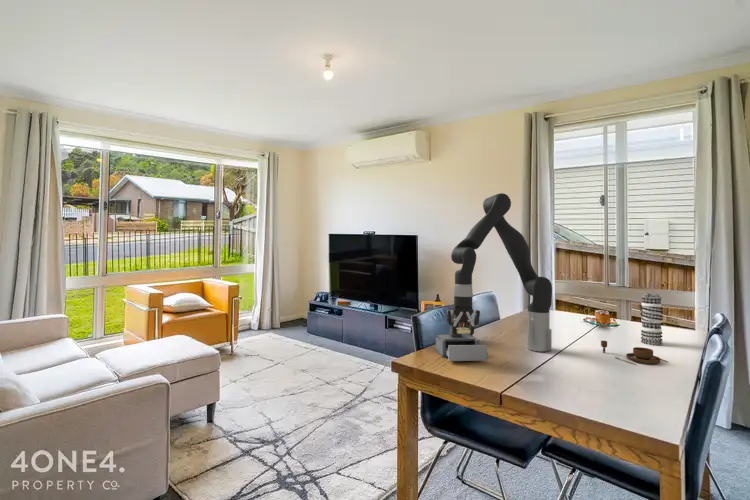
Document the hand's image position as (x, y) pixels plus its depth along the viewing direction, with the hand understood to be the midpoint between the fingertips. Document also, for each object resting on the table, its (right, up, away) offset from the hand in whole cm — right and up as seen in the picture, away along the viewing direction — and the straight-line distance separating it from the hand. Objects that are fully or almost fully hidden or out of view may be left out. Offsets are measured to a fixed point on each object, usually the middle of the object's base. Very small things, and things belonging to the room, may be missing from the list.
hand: (462, 334), depth 161 cm
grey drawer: (0, -9, 0) cm, 9 cm away
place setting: (+74, -11, +4) cm, 75 cm away
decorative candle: (+97, -11, +25) cm, 100 cm away
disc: (0, +1, 0) cm, 1 cm away
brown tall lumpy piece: (+6, -11, +30) cm, 32 cm away
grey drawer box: (-1, -10, +9) cm, 14 cm away
